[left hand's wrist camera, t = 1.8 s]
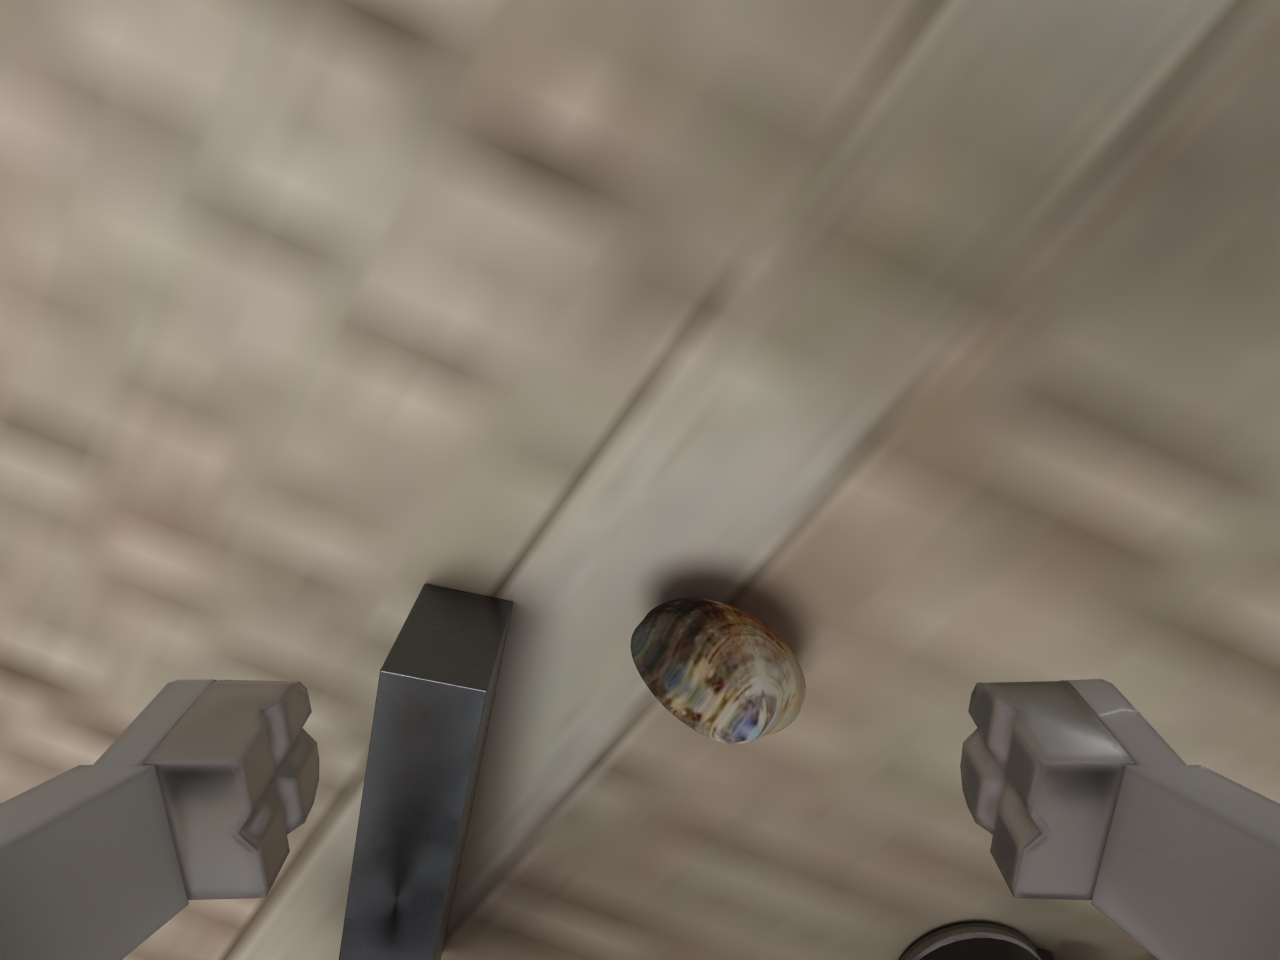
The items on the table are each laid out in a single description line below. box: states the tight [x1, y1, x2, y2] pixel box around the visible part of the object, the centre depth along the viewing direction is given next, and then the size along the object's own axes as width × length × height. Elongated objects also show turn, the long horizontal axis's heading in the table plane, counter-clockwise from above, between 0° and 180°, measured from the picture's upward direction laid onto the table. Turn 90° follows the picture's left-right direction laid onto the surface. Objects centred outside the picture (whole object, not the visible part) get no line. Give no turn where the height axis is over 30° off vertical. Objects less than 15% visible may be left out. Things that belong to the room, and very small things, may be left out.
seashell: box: [631, 598, 806, 744], centre depth 41 cm, size 10×6×8 cm, turn 61°
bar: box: [339, 584, 513, 960], centre depth 45 cm, size 26×5×8 cm, turn 167°
